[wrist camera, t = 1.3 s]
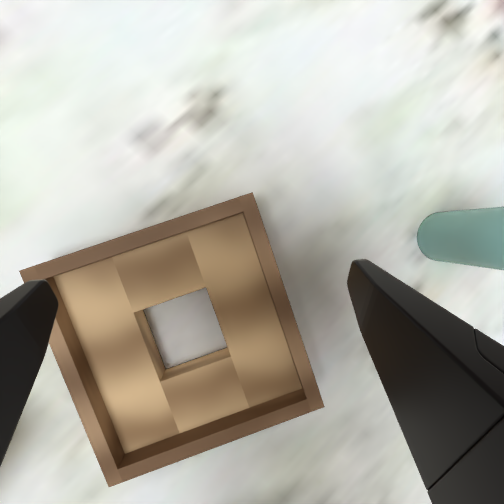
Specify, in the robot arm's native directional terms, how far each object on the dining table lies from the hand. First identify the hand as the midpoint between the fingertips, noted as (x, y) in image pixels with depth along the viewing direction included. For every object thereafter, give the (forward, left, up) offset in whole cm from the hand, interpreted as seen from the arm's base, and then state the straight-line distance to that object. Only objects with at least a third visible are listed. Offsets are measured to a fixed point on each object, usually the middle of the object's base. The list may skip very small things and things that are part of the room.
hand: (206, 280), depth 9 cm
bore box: (-5, +5, -15) cm, 16 cm away
